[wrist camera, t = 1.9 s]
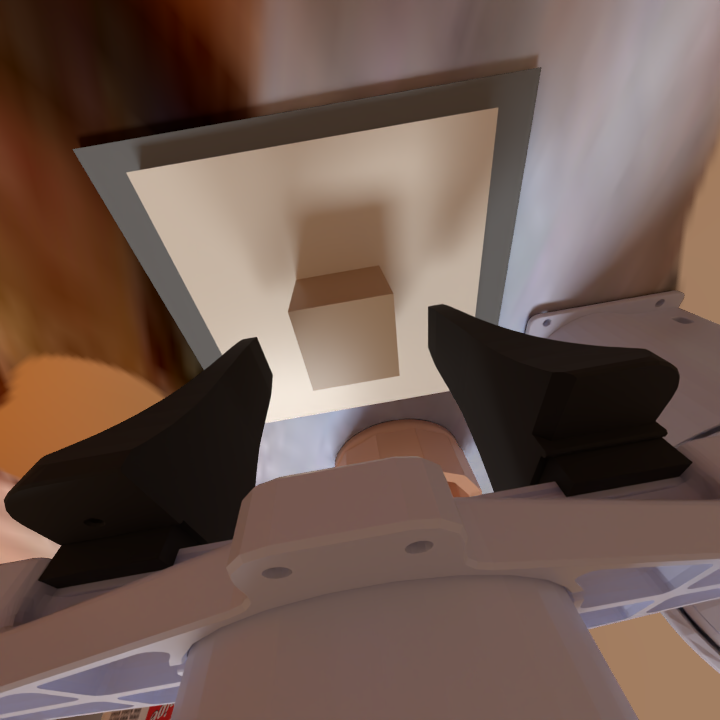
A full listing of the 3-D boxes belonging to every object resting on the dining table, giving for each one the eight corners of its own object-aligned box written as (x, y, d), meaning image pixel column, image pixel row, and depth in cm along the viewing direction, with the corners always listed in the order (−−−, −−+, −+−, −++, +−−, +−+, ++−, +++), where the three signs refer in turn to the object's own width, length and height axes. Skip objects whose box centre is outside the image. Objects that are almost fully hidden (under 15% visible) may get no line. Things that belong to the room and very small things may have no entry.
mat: (534, 69, 11) (541, 67, 11) (485, 380, 20) (487, 384, 20) (80, 149, 11) (72, 149, 11) (240, 423, 20) (238, 427, 20)
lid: (485, 111, 11) (564, 86, 8) (461, 378, 19) (492, 428, 16) (140, 171, 11) (51, 176, 8) (261, 413, 19) (246, 471, 16)
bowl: (462, 408, 22) (490, 458, 18) (454, 485, 28) (473, 533, 24) (322, 432, 22) (321, 487, 18) (346, 503, 28) (349, 554, 24)
